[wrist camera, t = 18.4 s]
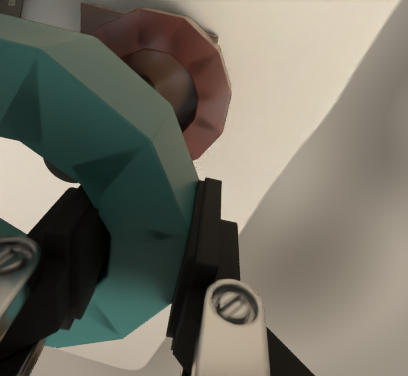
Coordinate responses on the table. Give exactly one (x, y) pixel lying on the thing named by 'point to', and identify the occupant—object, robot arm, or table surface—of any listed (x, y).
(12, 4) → the walkie-talkie
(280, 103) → the table surface
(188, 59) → the mahogany ring
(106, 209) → the teal ring
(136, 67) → the post
